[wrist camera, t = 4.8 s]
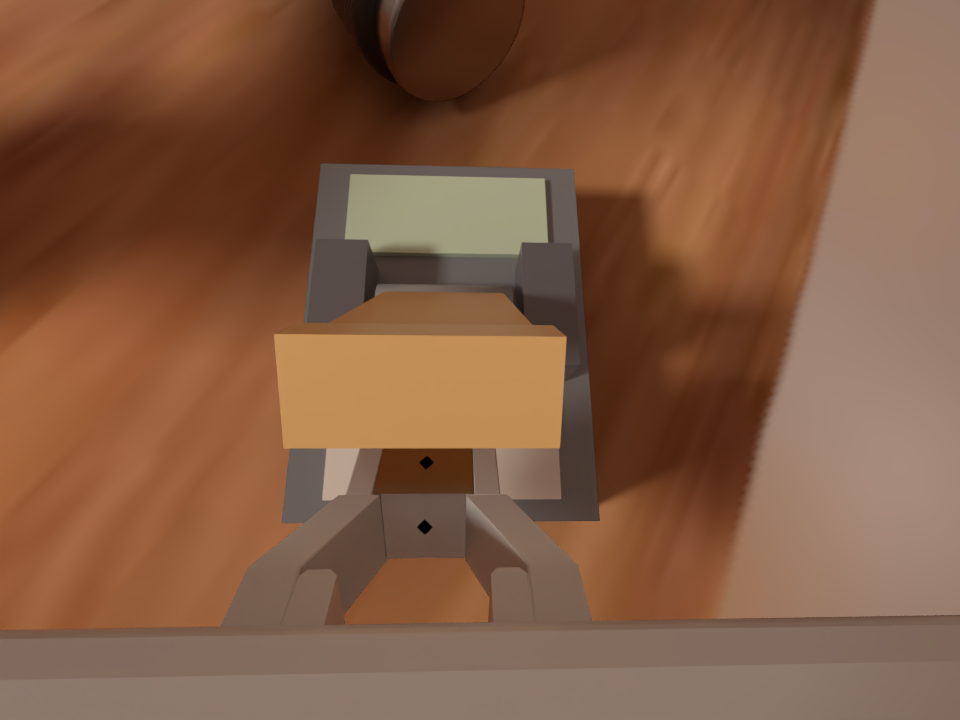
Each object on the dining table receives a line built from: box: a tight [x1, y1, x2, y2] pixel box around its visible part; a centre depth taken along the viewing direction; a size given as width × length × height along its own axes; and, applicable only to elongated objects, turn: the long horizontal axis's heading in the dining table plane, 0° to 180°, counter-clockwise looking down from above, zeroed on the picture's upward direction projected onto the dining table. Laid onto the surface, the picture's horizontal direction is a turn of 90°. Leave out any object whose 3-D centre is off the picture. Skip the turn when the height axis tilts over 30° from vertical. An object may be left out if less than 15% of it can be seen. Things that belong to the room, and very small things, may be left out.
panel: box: [282, 163, 600, 523], centre depth 21 cm, size 16×12×8 cm
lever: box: [274, 284, 567, 448], centre depth 14 cm, size 2×5×12 cm, turn 88°
